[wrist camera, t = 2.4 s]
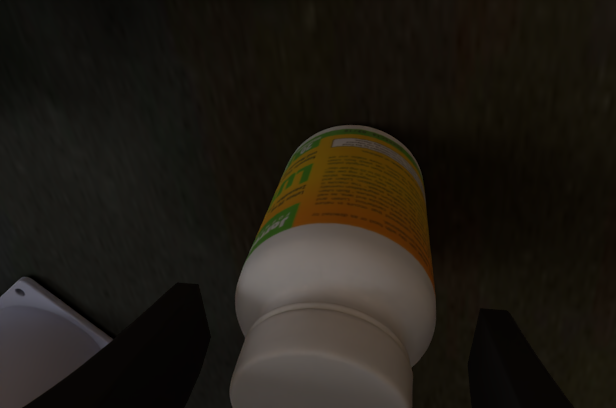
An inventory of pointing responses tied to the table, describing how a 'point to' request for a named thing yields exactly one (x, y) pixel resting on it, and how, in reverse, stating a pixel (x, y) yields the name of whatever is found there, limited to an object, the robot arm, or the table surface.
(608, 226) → the table surface
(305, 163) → the supplement bottle
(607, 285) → the table surface
